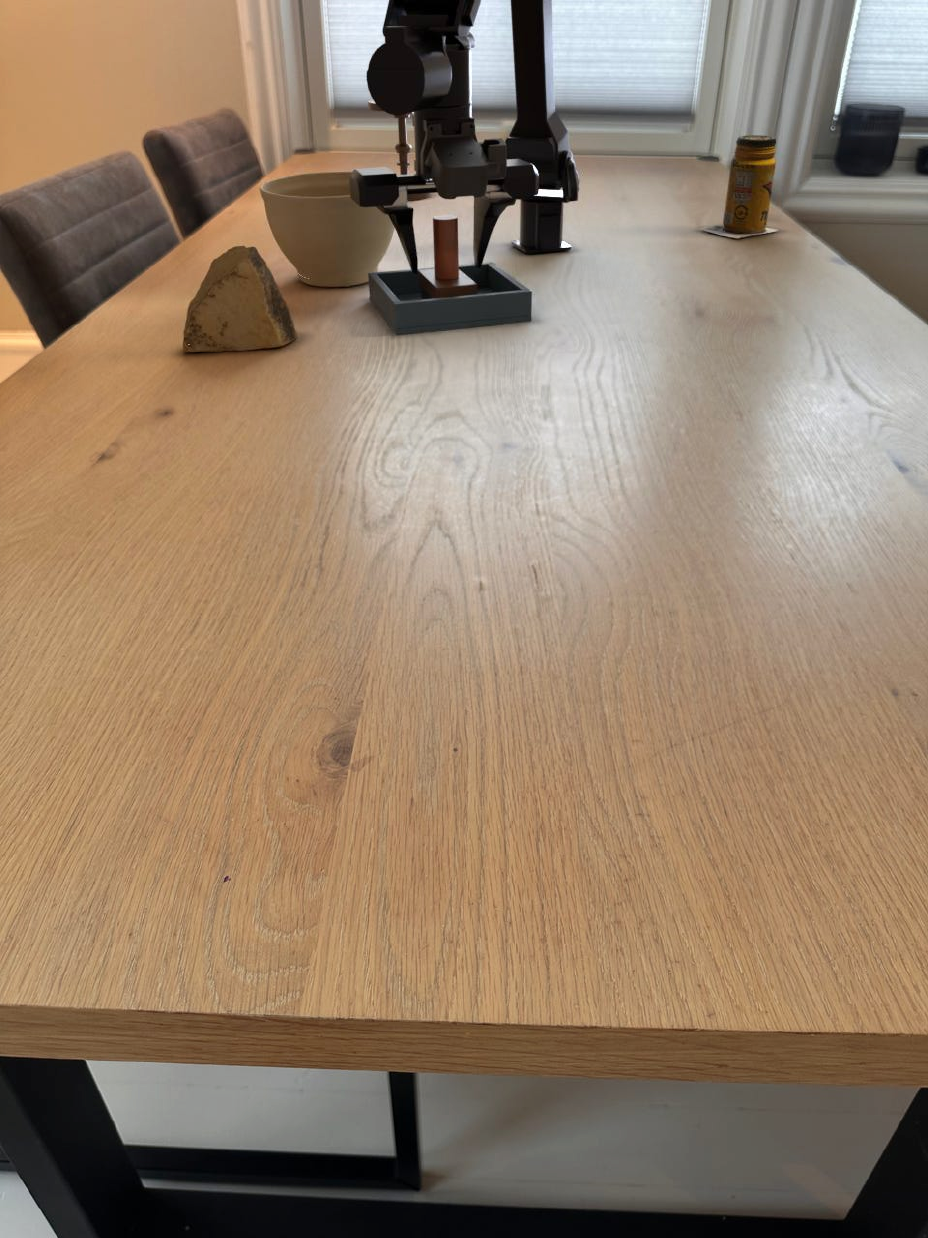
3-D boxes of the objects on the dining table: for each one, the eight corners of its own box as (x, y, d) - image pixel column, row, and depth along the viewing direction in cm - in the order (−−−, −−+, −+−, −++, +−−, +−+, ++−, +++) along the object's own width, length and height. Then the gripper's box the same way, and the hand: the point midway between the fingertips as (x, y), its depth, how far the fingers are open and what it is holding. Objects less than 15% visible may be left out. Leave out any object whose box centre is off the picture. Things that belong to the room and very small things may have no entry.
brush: (419, 297, 106) (415, 211, 101) (457, 294, 107) (455, 208, 102) (437, 316, 99) (434, 225, 94) (477, 313, 100) (476, 222, 95)
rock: (152, 338, 89) (244, 330, 86) (159, 250, 89) (251, 239, 86) (217, 376, 99) (301, 370, 96) (223, 296, 100) (307, 289, 96)
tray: (369, 300, 107) (367, 272, 105) (492, 289, 110) (492, 261, 109) (396, 335, 96) (394, 304, 94) (531, 321, 99) (532, 290, 98)
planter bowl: (244, 281, 115) (231, 184, 109) (344, 257, 125) (337, 167, 119) (330, 304, 106) (320, 200, 100) (431, 276, 116) (427, 179, 110)
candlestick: (448, 193, 164) (443, -54, 145) (413, 203, 157) (402, -56, 137) (398, 188, 169) (386, -51, 150) (361, 197, 162) (343, -53, 142)
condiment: (778, 231, 134) (793, 137, 127) (736, 239, 130) (750, 142, 124) (740, 223, 139) (752, 132, 132) (698, 230, 135) (709, 137, 129)
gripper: (364, 117, 84) (376, 297, 92) (561, 107, 88) (555, 280, 97) (342, 106, 93) (355, 270, 101) (522, 97, 97) (519, 256, 106)
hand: (446, 269), depth 101 cm, fingers open, 7 cm apart
